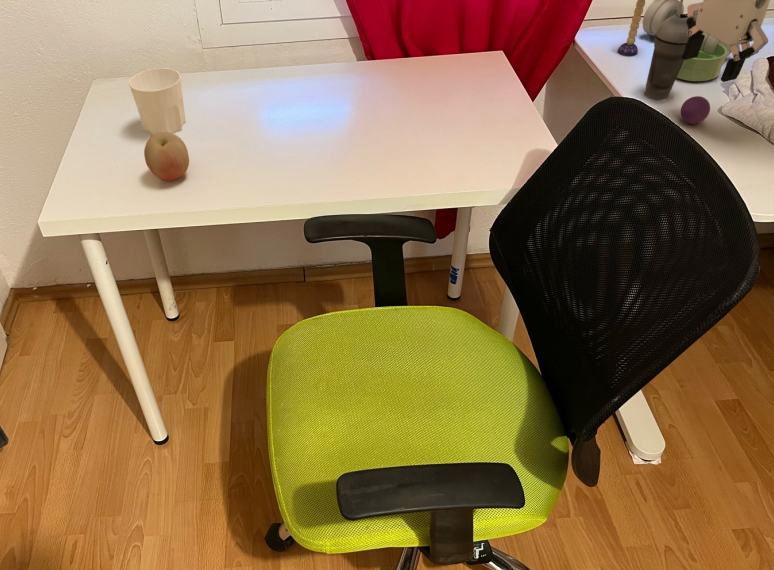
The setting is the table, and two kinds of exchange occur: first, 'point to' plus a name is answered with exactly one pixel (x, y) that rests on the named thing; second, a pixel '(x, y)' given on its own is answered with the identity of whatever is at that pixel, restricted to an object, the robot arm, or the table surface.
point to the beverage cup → (667, 55)
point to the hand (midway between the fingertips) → (708, 68)
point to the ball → (695, 110)
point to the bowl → (703, 65)
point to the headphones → (667, 6)
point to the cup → (159, 99)
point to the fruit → (166, 156)
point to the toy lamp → (632, 32)
